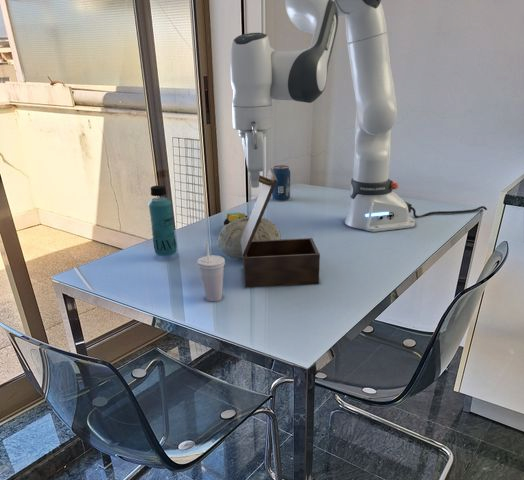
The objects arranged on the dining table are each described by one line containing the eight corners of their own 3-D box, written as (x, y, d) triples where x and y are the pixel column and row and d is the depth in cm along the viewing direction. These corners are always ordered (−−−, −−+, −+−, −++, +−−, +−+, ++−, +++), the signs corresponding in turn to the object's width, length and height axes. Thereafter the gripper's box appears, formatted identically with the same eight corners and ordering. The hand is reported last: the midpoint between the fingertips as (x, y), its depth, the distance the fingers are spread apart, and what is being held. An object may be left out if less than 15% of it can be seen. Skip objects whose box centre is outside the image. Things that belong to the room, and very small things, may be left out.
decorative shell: (271, 269, 135) (270, 233, 130) (209, 264, 140) (206, 228, 134) (287, 247, 149) (287, 213, 144) (231, 242, 154) (229, 210, 149)
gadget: (249, 227, 170) (248, 210, 168) (244, 233, 158) (243, 215, 156) (230, 226, 171) (230, 210, 169) (223, 233, 159) (223, 215, 156)
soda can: (273, 196, 198) (272, 164, 191) (290, 196, 197) (290, 164, 191) (271, 201, 192) (271, 168, 186) (289, 201, 191) (289, 168, 185)
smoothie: (201, 293, 124) (195, 238, 116) (227, 291, 124) (223, 236, 117) (200, 304, 118) (194, 247, 111) (227, 302, 119) (223, 246, 111)
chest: (311, 265, 137) (312, 237, 133) (318, 283, 127) (319, 254, 122) (243, 269, 136) (242, 241, 132) (245, 287, 126) (243, 258, 122)
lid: (272, 168, 123) (253, 160, 122) (277, 180, 113) (257, 171, 111) (243, 240, 132) (225, 233, 130) (245, 257, 121) (225, 249, 120)
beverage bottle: (151, 259, 143) (140, 188, 133) (162, 251, 149) (153, 182, 138) (171, 262, 141) (161, 190, 131) (182, 254, 147) (174, 184, 136)
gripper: (270, 125, 103) (271, 194, 110) (263, 113, 120) (264, 173, 127) (239, 126, 102) (242, 195, 109) (236, 114, 120) (239, 174, 127)
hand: (254, 183), depth 118 cm, fingers closed on lid, 5 cm apart
